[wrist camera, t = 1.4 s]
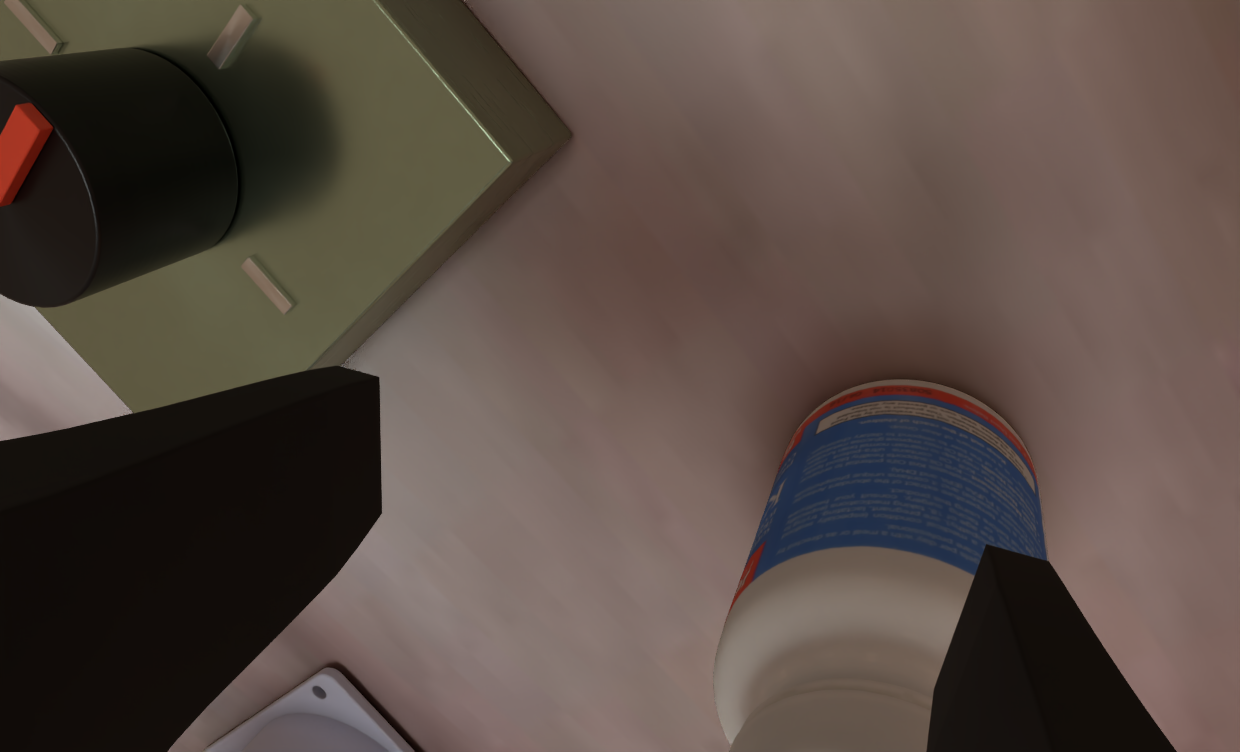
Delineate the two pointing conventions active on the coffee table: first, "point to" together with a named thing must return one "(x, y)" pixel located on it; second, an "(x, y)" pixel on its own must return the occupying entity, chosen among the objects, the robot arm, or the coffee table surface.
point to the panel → (302, 176)
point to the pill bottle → (869, 568)
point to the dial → (105, 172)
